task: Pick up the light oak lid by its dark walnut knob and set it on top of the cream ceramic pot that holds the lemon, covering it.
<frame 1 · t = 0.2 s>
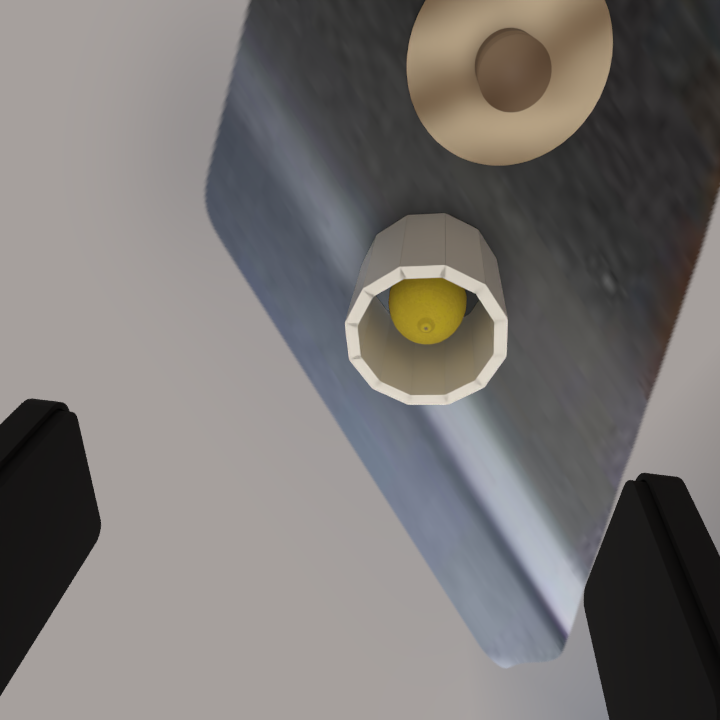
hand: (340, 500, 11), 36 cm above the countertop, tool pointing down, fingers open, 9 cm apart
pot: (428, 278, 47), on the countertop
lid: (505, 62, 39), on the countertop
lemon: (428, 277, 48), resting in pot
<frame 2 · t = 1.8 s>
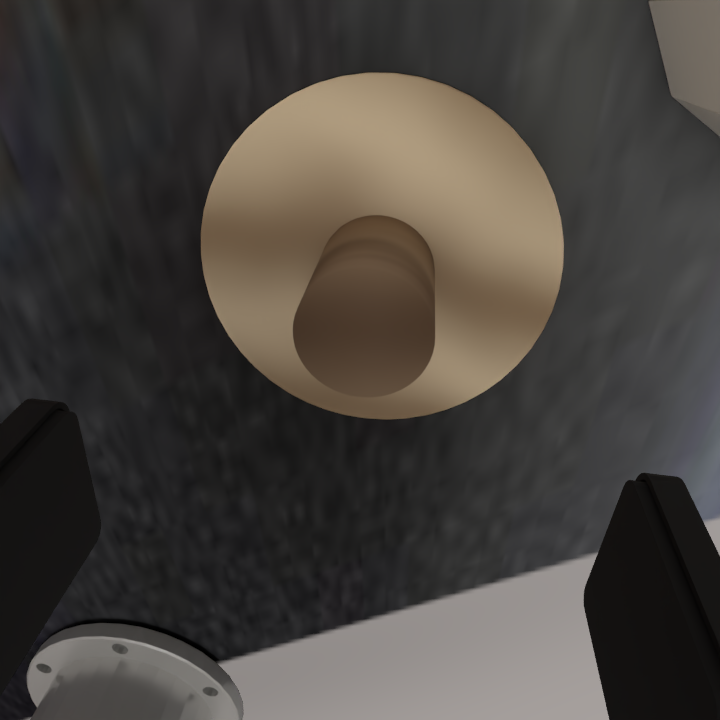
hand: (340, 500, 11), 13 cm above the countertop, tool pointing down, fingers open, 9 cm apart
lid: (378, 263, 22), on the countertop
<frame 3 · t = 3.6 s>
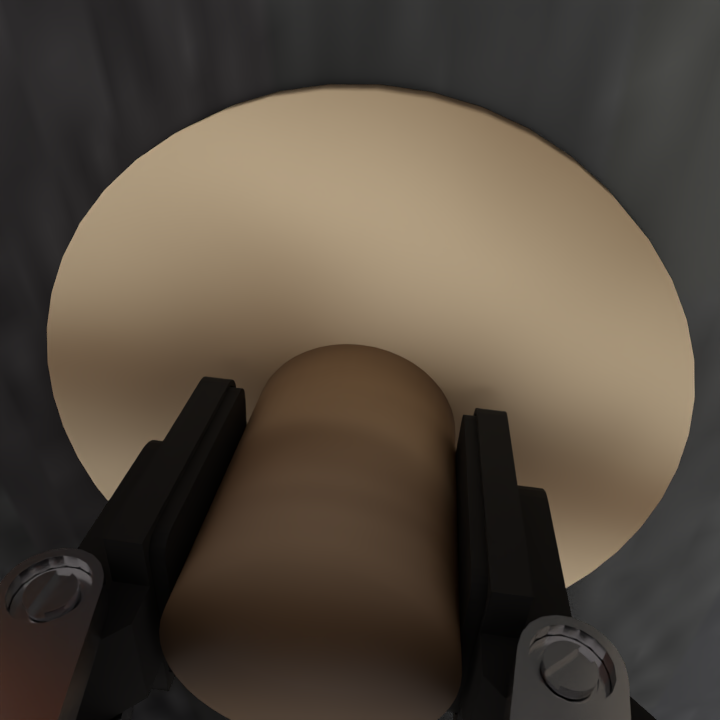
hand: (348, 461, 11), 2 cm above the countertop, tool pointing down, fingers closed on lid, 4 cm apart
lid: (359, 407, 13), on the countertop, touching gripper
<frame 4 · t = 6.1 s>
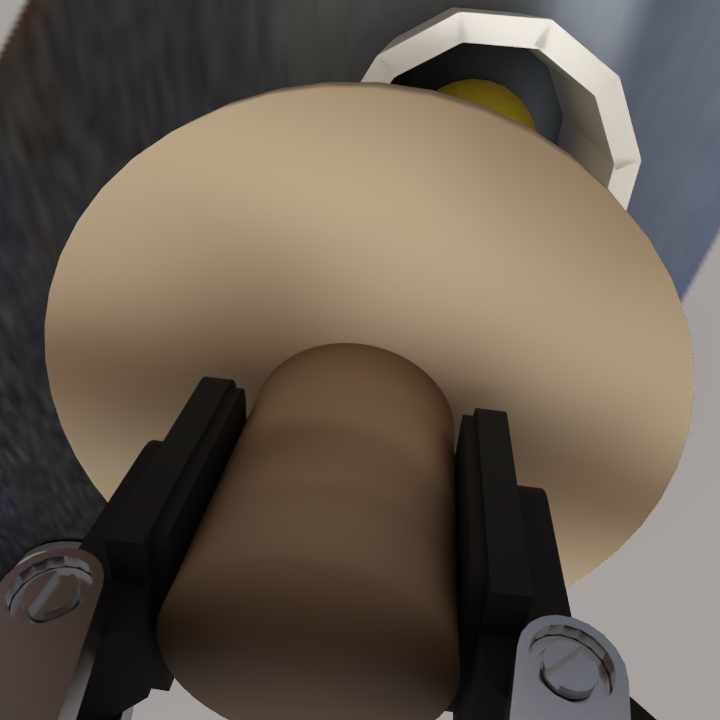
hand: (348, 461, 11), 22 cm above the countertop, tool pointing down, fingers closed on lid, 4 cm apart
pot: (465, 133, 29), on the countertop
lid: (357, 406, 13), point 20 cm above the countertop, touching gripper
lemon: (465, 132, 29), resting in pot
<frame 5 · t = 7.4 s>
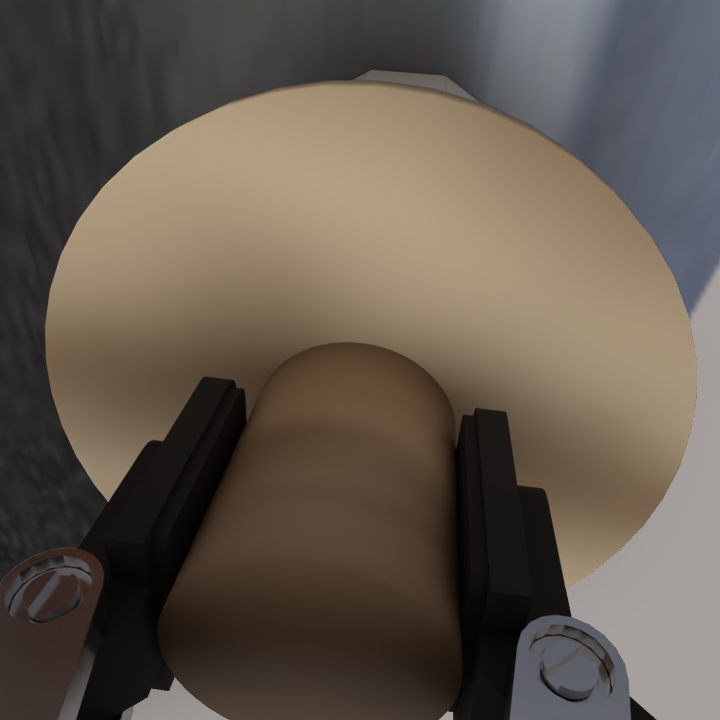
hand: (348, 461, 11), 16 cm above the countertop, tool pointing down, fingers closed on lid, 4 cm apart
pot: (395, 208, 25), on the countertop
lid: (359, 406, 13), point 14 cm above the countertop, touching gripper
when the fingers open (12 cm above the countertop, at t = 8.7 s): lid drops 1 cm, resting on pot.
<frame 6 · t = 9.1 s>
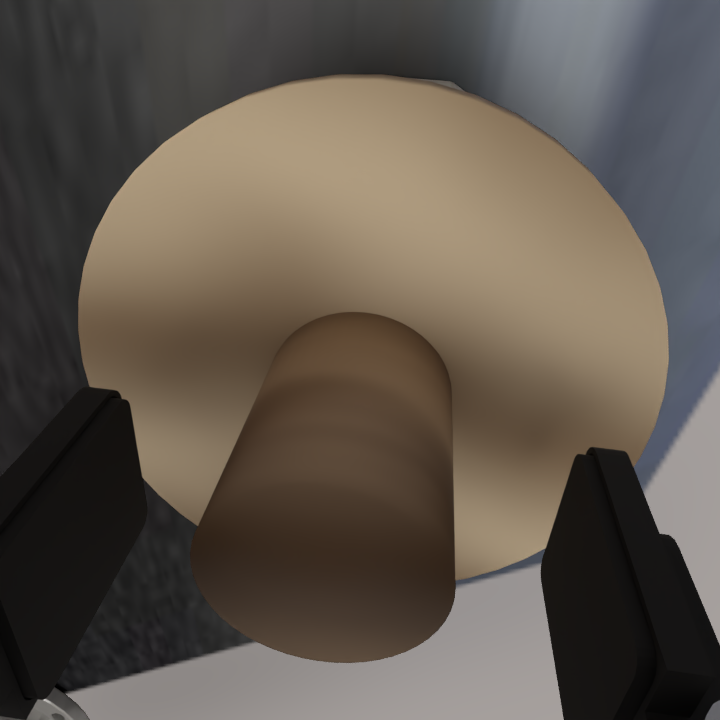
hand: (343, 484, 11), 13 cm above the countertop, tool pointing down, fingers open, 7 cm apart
lid: (363, 374, 14), point 9 cm above the countertop, touching pot
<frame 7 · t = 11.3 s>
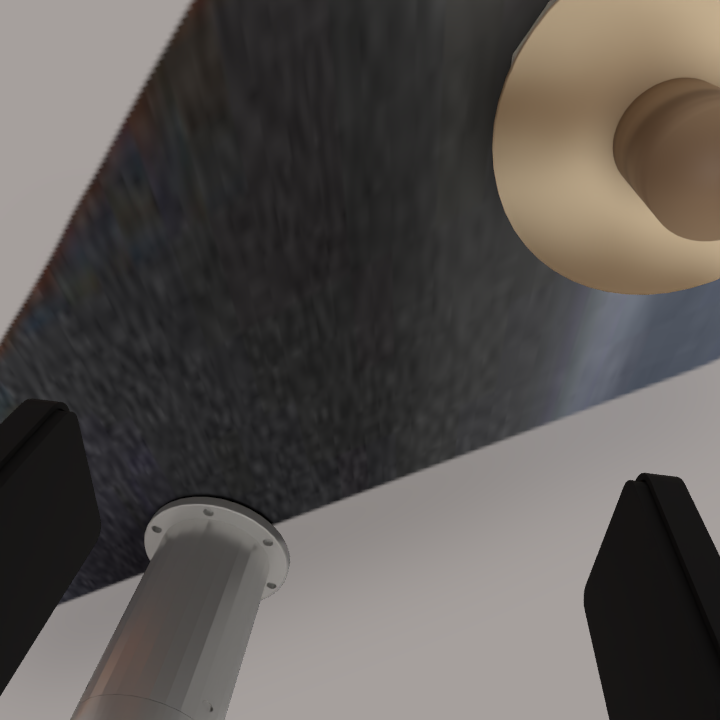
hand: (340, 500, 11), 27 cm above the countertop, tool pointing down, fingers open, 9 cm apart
lid: (664, 132, 23), point 9 cm above the countertop, touching pot
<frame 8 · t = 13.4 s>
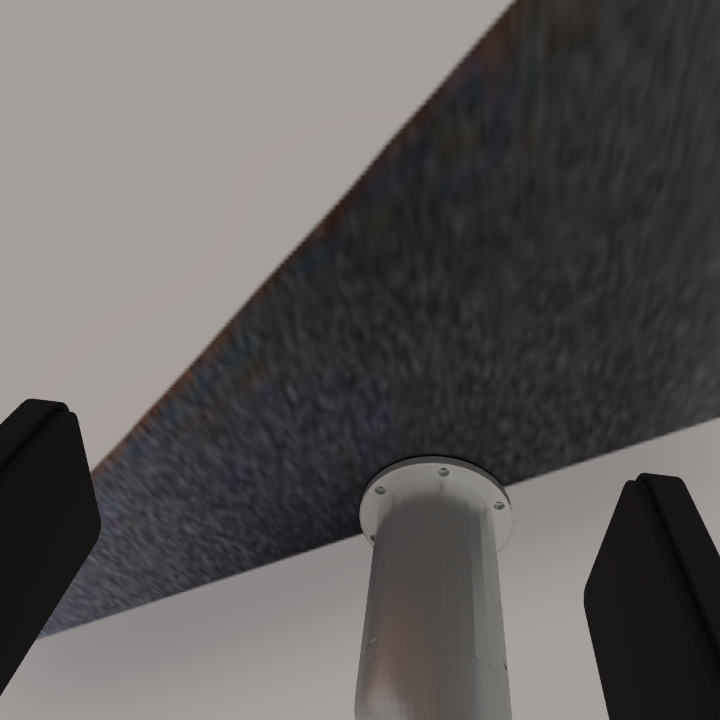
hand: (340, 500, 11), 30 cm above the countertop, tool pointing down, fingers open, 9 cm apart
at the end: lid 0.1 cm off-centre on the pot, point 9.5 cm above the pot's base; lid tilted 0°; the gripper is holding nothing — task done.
